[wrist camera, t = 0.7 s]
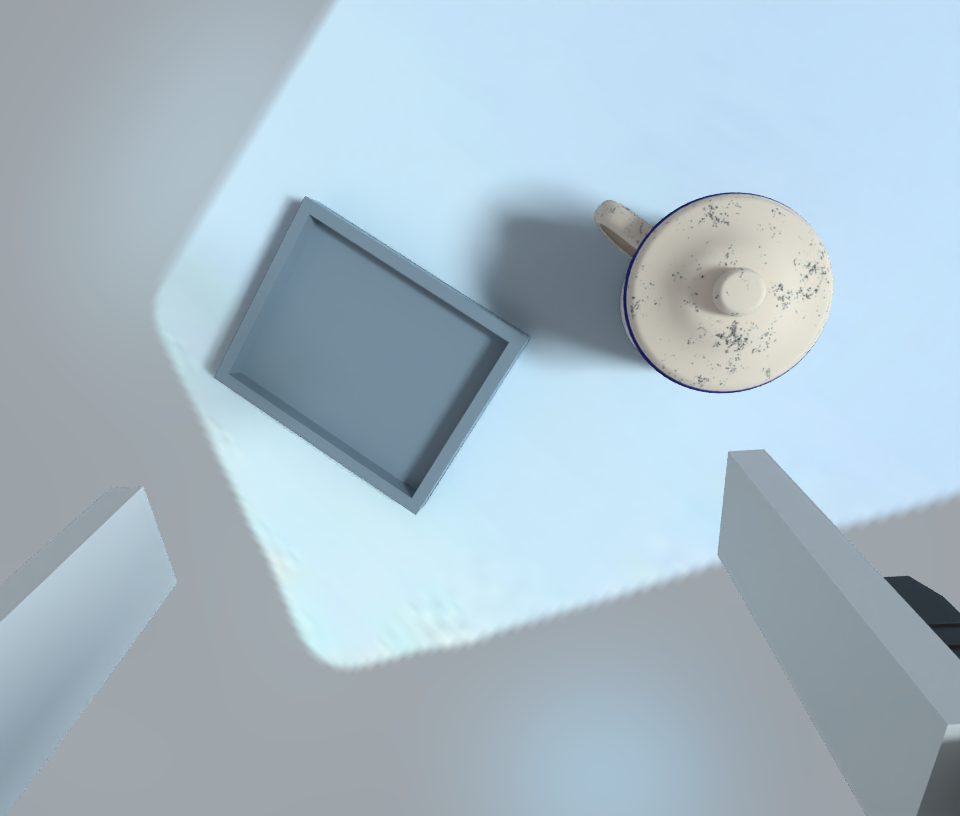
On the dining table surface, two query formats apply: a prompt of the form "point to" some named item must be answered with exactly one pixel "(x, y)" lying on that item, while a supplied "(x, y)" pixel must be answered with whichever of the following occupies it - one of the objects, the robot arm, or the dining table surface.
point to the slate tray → (368, 355)
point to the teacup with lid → (721, 289)
